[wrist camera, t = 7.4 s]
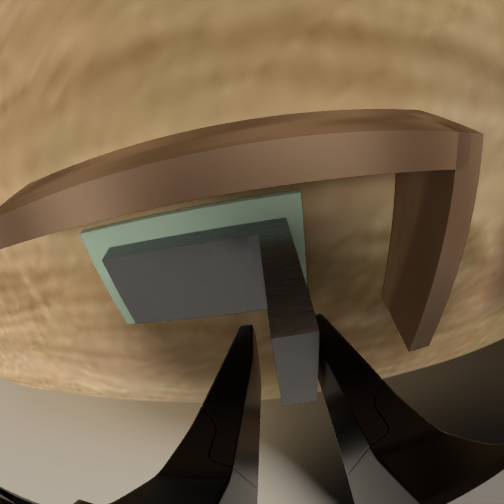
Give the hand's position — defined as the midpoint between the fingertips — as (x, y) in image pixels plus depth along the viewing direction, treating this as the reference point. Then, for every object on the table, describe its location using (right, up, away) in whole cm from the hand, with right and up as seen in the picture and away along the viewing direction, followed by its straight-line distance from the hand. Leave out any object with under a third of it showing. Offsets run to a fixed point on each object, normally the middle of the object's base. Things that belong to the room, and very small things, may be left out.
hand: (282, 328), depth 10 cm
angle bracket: (-3, +2, +3) cm, 5 cm away
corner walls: (-2, +3, +3) cm, 5 cm away
